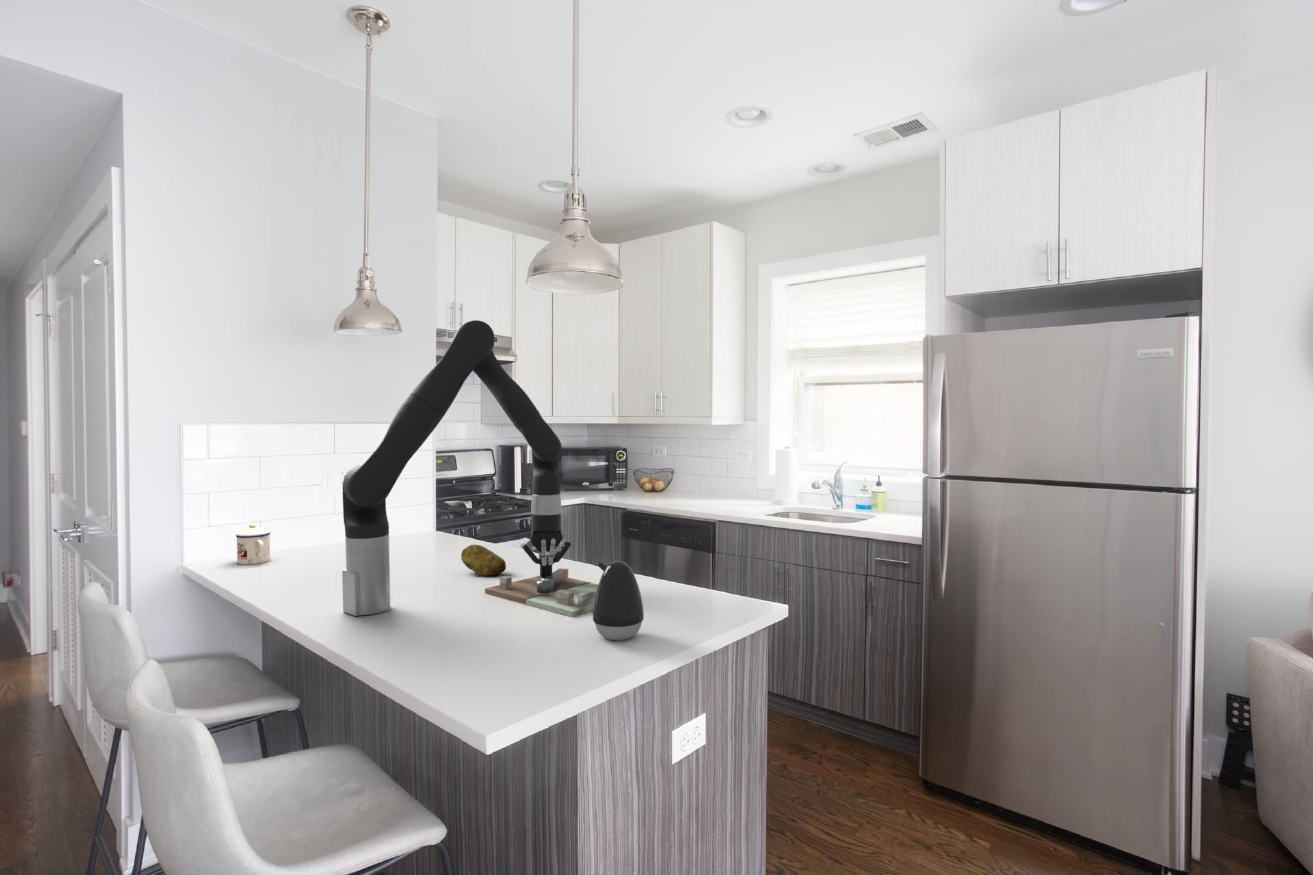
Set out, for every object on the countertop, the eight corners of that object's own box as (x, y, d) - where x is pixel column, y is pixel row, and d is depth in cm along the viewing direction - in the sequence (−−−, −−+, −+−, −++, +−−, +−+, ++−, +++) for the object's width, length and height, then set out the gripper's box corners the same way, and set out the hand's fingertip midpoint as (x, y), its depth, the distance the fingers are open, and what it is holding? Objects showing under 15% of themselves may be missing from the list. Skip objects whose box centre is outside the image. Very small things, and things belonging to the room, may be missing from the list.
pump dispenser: (616, 625, 146) (615, 553, 145) (654, 635, 139) (653, 560, 138) (581, 637, 138) (580, 562, 137) (620, 648, 131) (619, 569, 131)
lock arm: (534, 592, 165) (534, 580, 165) (556, 578, 180) (556, 566, 180) (550, 593, 164) (549, 581, 164) (571, 578, 179) (570, 567, 179)
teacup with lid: (232, 562, 211) (231, 524, 211) (264, 557, 218) (263, 520, 217) (245, 567, 203) (244, 528, 203) (279, 562, 210) (278, 524, 209)
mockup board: (571, 617, 152) (571, 599, 151) (484, 593, 172) (484, 577, 172) (636, 597, 168) (635, 581, 167) (549, 577, 188) (549, 563, 188)
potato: (485, 580, 186) (485, 550, 186) (456, 573, 194) (456, 545, 194) (509, 574, 193) (509, 546, 192) (480, 568, 201) (480, 541, 200)
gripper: (524, 514, 169) (523, 585, 169) (575, 512, 174) (575, 580, 175) (517, 511, 176) (516, 578, 176) (567, 508, 181) (566, 574, 182)
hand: (546, 579), depth 176 cm, fingers closed
